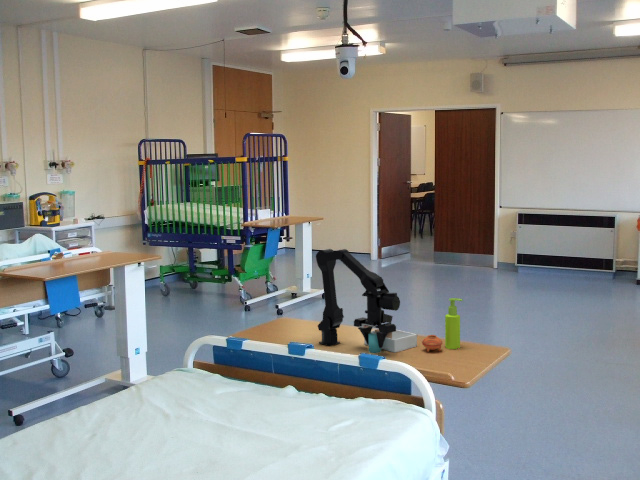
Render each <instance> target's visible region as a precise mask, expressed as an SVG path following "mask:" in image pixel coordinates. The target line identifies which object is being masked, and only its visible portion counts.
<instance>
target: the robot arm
mask: <svg viewBox="0 0 640 480" xmlns="http://www.w3.org/2000/svg"><path fill="white" fill-rule="evenodd" d="M315 260H316V264H317V266H318V268H319V269H320V271H321V277H322V285H323V295H324V305H325V306H324V309H323V312H322V320H321V321H320V322H319V324H317V328H318V331H321V341H319V342H318V344H321V345H324V346H328V347H330V346H335V345H339V344H341V342H340V341H338V329H339V328H340V327H341V324H342V323H343V321H344V318H345V316H344V313H343V312H344V309H343V307H340V306H339V305H338V301H337V300H338V299H337V291H336V283H335V280H336V279H335V274H334V270H335V267H336V264H337V260H339V261H340V262H341V263H343V265H345V266H346V268H348V269H349V270H350V271H351V272H352V273H353V274H354V275H355V276H357V278H358V279H359V280H360V284H361V285H362V287H363V288H364V289H365V291H364V292H363V293H362V295H361V296H362V297H366V310H364V314H367V315H366V317H357V318H355V319H354V320H353V326H354V327H357V329H358V330H359V332H360V333H361V334H362V336H363V338H365V340H366V342H367V344H368V345H369V339H368V334H369V333H371V331H373V328H375V329H379V332H376V334H377V339H378V344H379V348H382V346H383V344H384V341H385V338H386V336H387V334H388V333H391V332H395V331H396V330H397V325H396V324H394V323H392V321H393V317H394V316H393V315H390V314H386V313H385V310H387V311H388V310H389V311H395V312H396V311H398V310H399V309H400V305H401V300H400V297H399V296H398V293H397V292H390V291H389V289H388V287H387V286H386V284H385V282H384V278H383V277H382V276H381V275H379V274H377V273H376V272H373V271H372V270H371V271H370V270H369V269H367V268H366V267H365V265H363V264H362V263H361V262H360V261H359V260H358V259H356V257H354V256H353V255H352V254H351V253H350V251H349V250H348V249H347V248H342V249H338V250H333V249H331V248H327V249H321V250H319V251H317V253H316V254H315ZM368 345H367V346H368Z"/></svg>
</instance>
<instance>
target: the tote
mask: <svg viewBox="0 0 640 480" xmlns="http://www.w3.org/2000/svg"><path fill="white" fill-rule="evenodd" d="M375 330H376V329H374V330H373V329H372V330H371V333H375ZM363 338H364V337H363ZM363 342H364V345H366V346H368V347H369V345H368V344H367V342H366V340H365V338H364V341H363ZM416 347H418V334H416V333H414V332H413V333H412V332H409V331H406V330H405V331H404V330H399V329H396V331H395V332H392V339H390V338H385V341H384V344H383V346H382V348H381V350H383V351H384V350H385V351H387V352H390V353H391V352H392V353H398V352H402V351H405V350H409V349H412V348H416Z"/></svg>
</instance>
